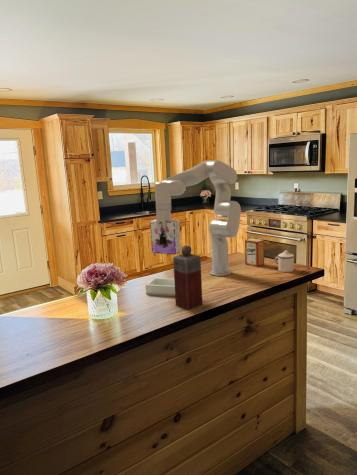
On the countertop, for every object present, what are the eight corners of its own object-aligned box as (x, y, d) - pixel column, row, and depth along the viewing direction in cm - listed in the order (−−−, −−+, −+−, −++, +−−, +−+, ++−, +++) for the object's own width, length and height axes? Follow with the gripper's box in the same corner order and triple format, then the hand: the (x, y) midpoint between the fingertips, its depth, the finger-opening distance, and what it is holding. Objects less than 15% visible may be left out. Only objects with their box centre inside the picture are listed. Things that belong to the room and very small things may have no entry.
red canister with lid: (186, 298, 182) (183, 242, 177) (202, 304, 174) (200, 245, 168) (172, 304, 177) (168, 245, 171) (188, 310, 168) (185, 249, 163)
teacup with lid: (297, 269, 219) (297, 250, 217) (288, 273, 213) (288, 253, 211) (279, 266, 228) (279, 247, 226) (270, 269, 222) (270, 250, 220)
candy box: (151, 253, 191) (149, 220, 187) (157, 250, 196) (155, 219, 192) (175, 254, 184) (173, 221, 181) (181, 252, 189) (179, 219, 186)
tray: (155, 286, 203) (154, 277, 202) (190, 288, 196) (190, 279, 195) (146, 294, 192) (145, 284, 191) (183, 296, 185) (183, 287, 184)
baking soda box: (245, 264, 237) (244, 239, 233) (251, 262, 241) (251, 237, 238) (257, 267, 229) (257, 241, 226) (264, 264, 234) (264, 239, 231)
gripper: (162, 205, 195) (164, 239, 198) (149, 209, 179) (152, 246, 182) (176, 205, 192) (178, 239, 196) (164, 209, 176) (166, 246, 180)
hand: (165, 242), depth 189 cm, fingers closed on candy box, 6 cm apart
